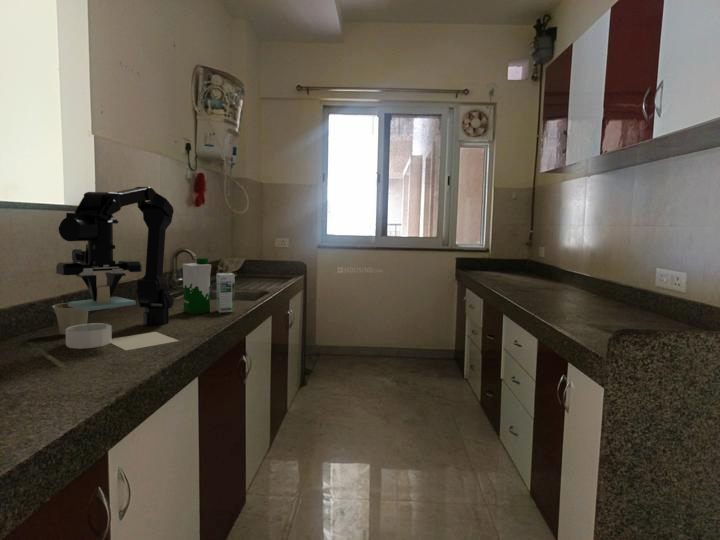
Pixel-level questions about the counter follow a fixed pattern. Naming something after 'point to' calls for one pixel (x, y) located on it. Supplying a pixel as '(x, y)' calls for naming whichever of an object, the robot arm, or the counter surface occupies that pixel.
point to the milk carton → (196, 286)
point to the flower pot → (69, 316)
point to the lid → (101, 301)
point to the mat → (141, 340)
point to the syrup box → (225, 292)
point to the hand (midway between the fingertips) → (101, 300)
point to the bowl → (88, 335)
